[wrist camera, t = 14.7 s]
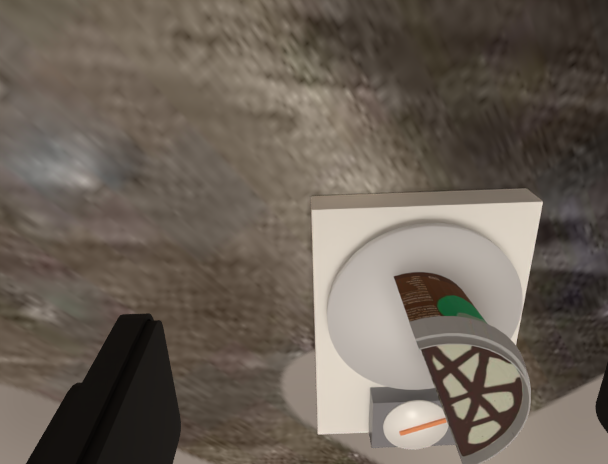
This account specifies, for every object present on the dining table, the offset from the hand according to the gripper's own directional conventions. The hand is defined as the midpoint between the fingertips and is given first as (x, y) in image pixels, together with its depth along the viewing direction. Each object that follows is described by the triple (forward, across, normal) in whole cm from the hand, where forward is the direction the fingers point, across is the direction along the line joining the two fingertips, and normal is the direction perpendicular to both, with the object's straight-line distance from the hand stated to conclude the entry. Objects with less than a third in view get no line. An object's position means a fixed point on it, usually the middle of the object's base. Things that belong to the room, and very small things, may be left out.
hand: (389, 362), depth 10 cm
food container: (+26, -10, +16) cm, 32 cm away
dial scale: (+30, -8, +20) cm, 37 cm away
